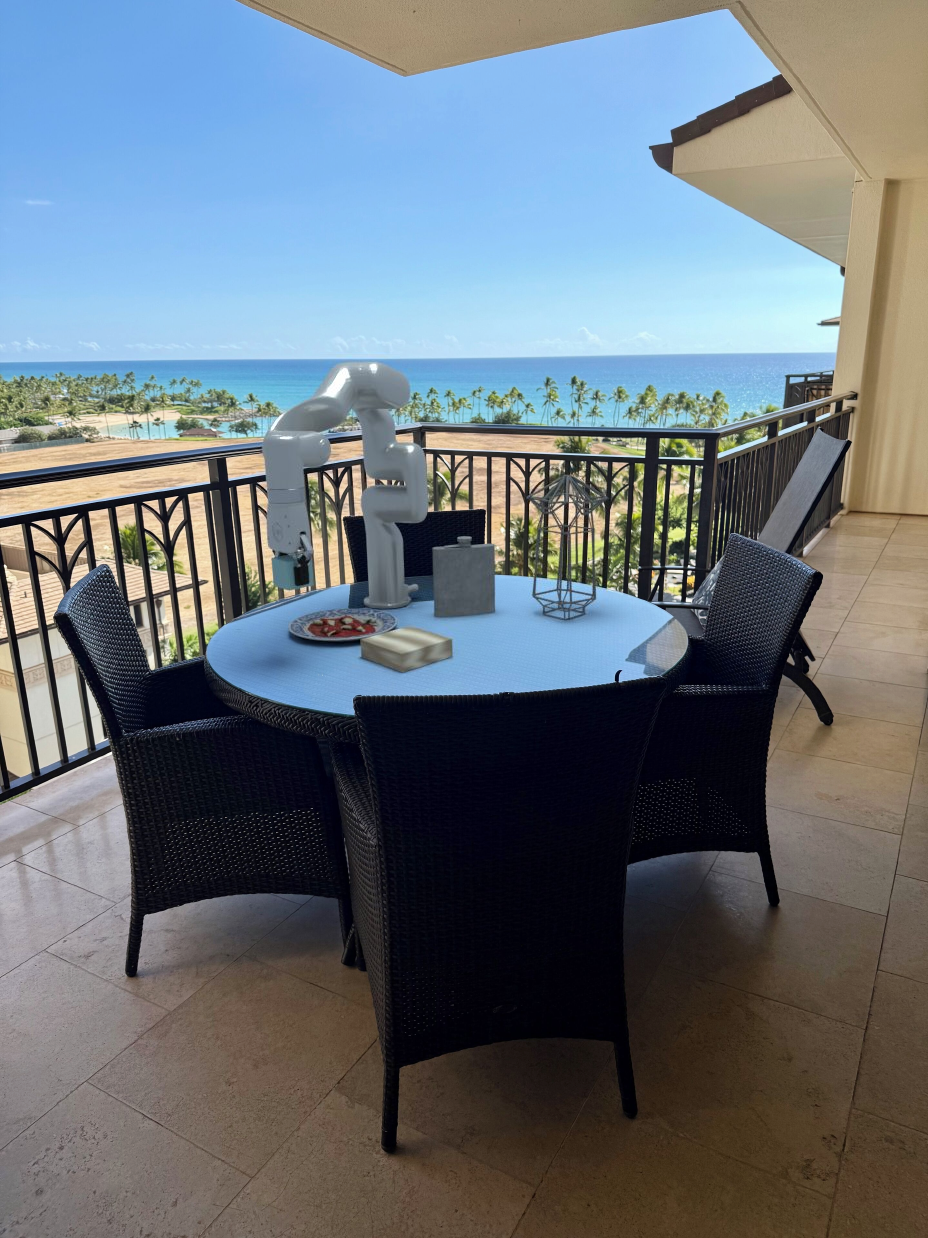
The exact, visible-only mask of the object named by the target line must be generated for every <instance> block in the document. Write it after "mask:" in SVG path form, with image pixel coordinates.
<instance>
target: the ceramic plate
mask: <svg viewBox="0 0 928 1238" xmlns="http://www.w3.org/2000/svg"><path fill="white" fill-rule="evenodd" d="M397 624H398V619H397V618H396V616H394V615H393V614H391V613H390V612H385V611H382V610H377V609H369V608H335V609H327V610H320V611H316V612H315V611H314V612H311V613H308V614H304V615H301V616H299V617H297V618H295V619H294V620H292V621H291V622H290V623H289V625H288V630H289V632H290V633H291V634H293V635H295V636H297V637H300V638H304V639H308V640H314V641H323V642H331V643H334V642H335V643H336V642H337V643H338V642H340V643H341V642H353V641H358V640H361V639H364V638H368V637H371V636H375V635H379V634H382V633H386V632H390V631H392V630H393V629H394V628H395V627H396V625H397Z"/></svg>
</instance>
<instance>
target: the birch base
mask: <svg viewBox="0 0 928 1238" xmlns="http://www.w3.org/2000/svg"><path fill="white" fill-rule="evenodd" d="M359 640H360V653H361V654H360V657H361V658H363V659H365V660H368V661H371V662H373V663H376V664H379V665H381V666H385V667H387V668H390V669H392V670H396V671H397V672H400V673H406V672H408V671H412V670H415V669H418V668H421V667H424V666H426V665H431V664H433V663H437V662H439V661H442V660H445V659H448V658H453V656H454V655H453V654H454V652H453V638H451V637H448V636H445V635H442V634H438V633H436V632H435V633H434V632H432V631H428V630H425V629H423V628H422V629H421V628H418V627H415V626H412V625H408V626H404V627H401V628H397V629H394V630H393V629H392V630H389V631H387V632H385V633H382V634H379V635H375V636H371V637H367V638H364V639H359Z"/></svg>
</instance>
